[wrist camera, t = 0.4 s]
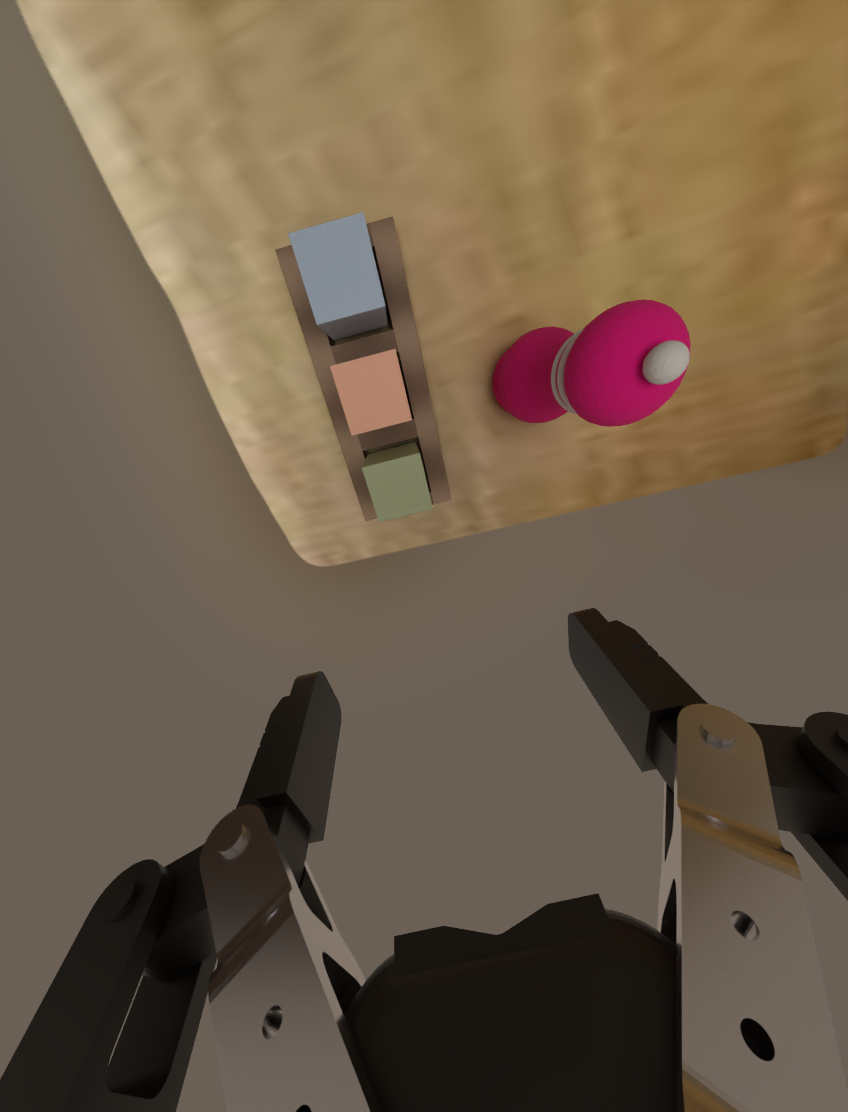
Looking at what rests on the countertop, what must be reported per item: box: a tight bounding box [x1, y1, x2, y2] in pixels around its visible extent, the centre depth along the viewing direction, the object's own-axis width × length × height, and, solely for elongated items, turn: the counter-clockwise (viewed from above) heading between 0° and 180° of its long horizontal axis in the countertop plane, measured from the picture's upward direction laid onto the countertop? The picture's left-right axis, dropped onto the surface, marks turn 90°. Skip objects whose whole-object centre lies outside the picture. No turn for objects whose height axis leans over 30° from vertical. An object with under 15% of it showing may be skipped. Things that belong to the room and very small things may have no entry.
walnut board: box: [276, 217, 451, 521], centre depth 31 cm, size 22×9×3 cm, turn 13°
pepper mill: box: [492, 300, 690, 427], centre depth 24 cm, size 7×7×20 cm
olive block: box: [362, 442, 433, 522], centre depth 30 cm, size 5×5×7 cm
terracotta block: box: [330, 349, 412, 436], centre depth 27 cm, size 5×5×7 cm
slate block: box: [288, 212, 388, 341], centre depth 24 cm, size 5×5×7 cm
